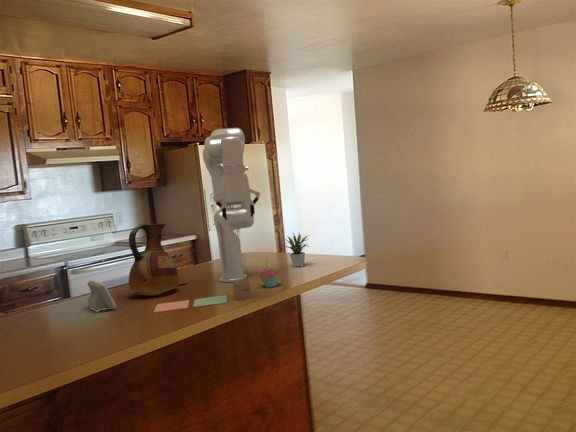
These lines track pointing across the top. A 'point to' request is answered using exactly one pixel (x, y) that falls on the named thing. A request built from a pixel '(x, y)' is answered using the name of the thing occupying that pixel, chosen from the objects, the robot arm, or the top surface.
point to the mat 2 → (210, 301)
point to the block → (242, 289)
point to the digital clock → (100, 296)
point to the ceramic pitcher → (151, 264)
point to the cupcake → (269, 276)
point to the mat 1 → (171, 306)
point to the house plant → (297, 250)
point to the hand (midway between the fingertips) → (239, 217)
